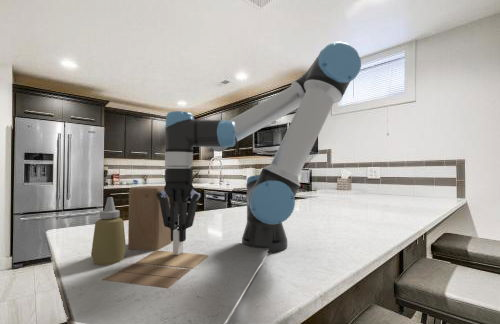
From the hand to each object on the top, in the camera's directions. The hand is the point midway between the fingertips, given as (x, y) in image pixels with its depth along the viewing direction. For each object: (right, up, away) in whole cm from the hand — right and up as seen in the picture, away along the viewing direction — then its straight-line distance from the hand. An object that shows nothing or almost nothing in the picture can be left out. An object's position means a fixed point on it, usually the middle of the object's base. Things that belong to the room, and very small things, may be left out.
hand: (178, 252), depth 71 cm
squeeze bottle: (-17, -2, -4) cm, 18 cm away
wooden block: (-11, -3, +10) cm, 16 cm away
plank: (-1, -2, -3) cm, 4 cm away
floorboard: (-3, -2, -13) cm, 14 cm away
